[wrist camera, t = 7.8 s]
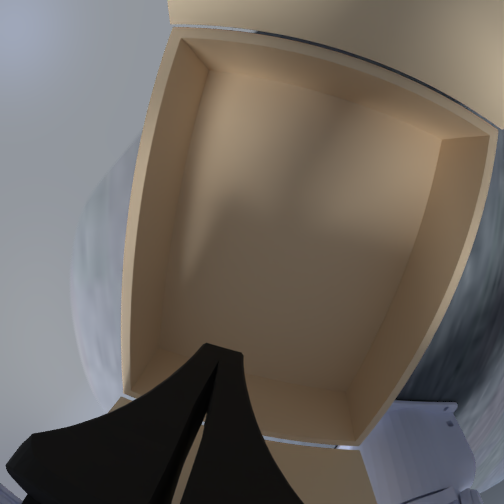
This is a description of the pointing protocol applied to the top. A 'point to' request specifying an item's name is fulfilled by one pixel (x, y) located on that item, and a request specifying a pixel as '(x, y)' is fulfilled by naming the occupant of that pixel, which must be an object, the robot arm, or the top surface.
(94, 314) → the top surface
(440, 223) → the carton
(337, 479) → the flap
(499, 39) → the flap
